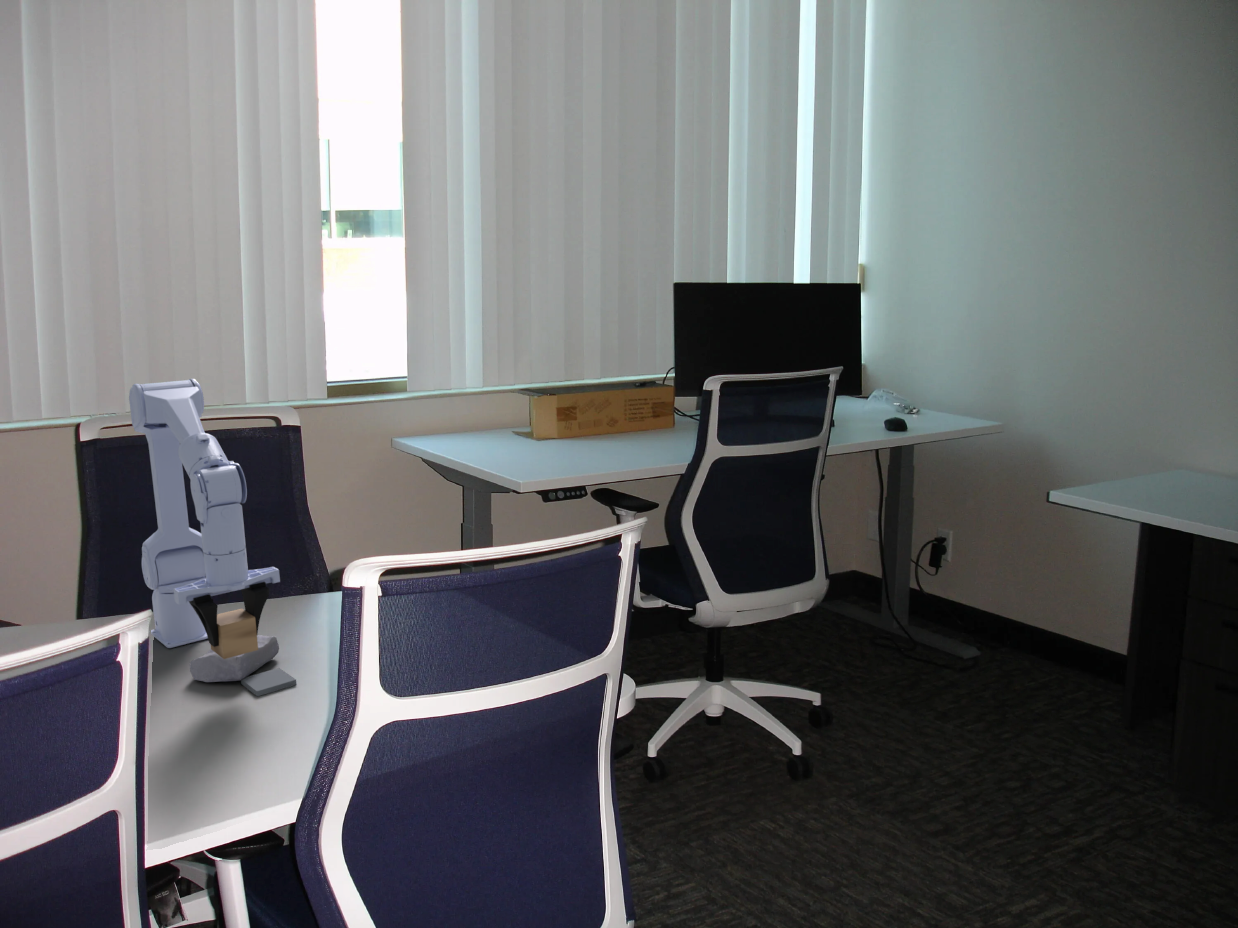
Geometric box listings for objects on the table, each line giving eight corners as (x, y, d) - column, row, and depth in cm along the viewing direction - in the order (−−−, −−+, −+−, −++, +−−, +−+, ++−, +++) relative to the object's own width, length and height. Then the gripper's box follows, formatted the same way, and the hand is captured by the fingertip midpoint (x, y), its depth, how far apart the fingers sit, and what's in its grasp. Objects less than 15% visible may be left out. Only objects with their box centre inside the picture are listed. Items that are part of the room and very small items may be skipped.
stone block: (188, 693, 157) (244, 680, 155) (178, 663, 157) (234, 649, 154) (233, 666, 169) (286, 654, 166) (224, 638, 168) (277, 625, 166)
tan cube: (211, 649, 152) (207, 616, 151) (244, 640, 156) (241, 608, 155) (223, 659, 149) (220, 625, 148) (258, 649, 152) (255, 617, 151)
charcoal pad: (241, 683, 157) (240, 678, 157) (279, 672, 161) (279, 667, 161) (257, 696, 153) (256, 691, 152) (296, 684, 156) (296, 679, 156)
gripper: (182, 566, 141) (192, 660, 144) (285, 545, 151) (292, 634, 154) (164, 555, 147) (175, 646, 150) (265, 535, 156) (273, 621, 159)
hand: (233, 639), depth 152 cm, fingers closed on tan cube, 5 cm apart
